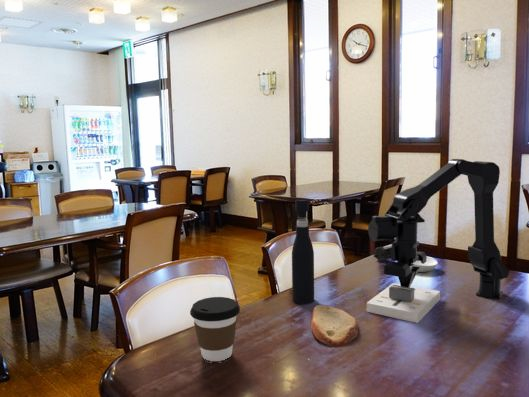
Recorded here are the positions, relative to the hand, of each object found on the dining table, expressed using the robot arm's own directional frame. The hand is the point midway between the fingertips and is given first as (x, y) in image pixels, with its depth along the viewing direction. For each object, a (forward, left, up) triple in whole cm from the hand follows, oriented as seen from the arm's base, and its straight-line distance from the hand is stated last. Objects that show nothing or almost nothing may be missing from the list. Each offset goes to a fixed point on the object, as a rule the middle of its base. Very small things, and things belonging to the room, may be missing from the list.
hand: (404, 292), depth 129 cm
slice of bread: (+25, -11, -4) cm, 28 cm away
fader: (+3, 0, -1) cm, 3 cm away
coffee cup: (+53, -24, -4) cm, 58 cm away
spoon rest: (-37, -13, -4) cm, 40 cm away
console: (+1, 0, -4) cm, 4 cm away
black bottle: (+13, -26, -4) cm, 29 cm away
